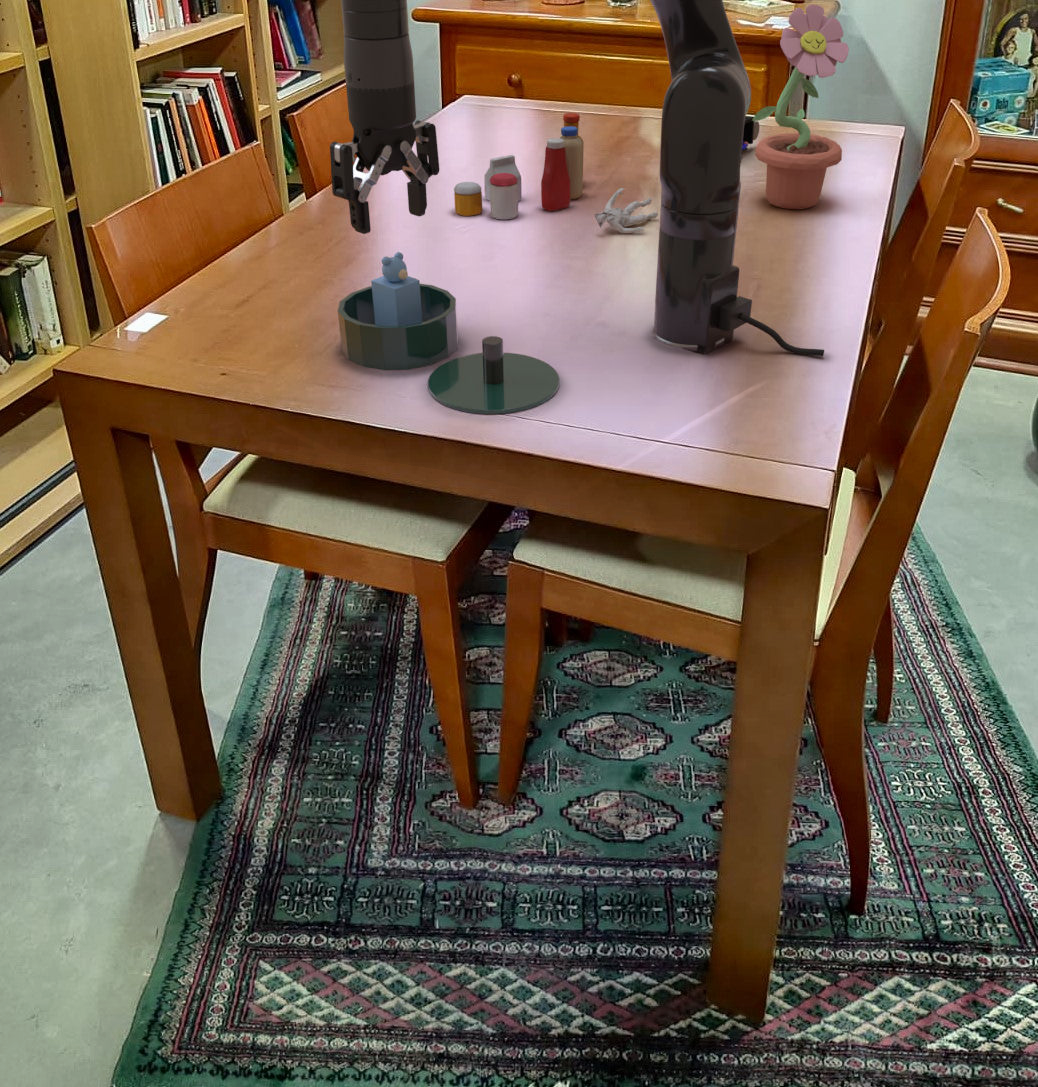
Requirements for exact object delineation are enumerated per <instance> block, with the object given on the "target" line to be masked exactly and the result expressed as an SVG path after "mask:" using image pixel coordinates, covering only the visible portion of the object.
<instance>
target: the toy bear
mask: <svg viewBox="0 0 1038 1087" xmlns="http://www.w3.org/2000/svg"><path fill="white" fill-rule="evenodd" d="M381 264H382V267H381V272H382V273H381V274H382V276H379V277H377V278H374V279H371V280H370V283H371V286H372V294H373V305H374V316H375V325H380V326H401V325H409V324H415V323H420V322H422V310H421V295H420V284H421V281H420V279H418V278H414V277H412V276H410V275H409V273H408V267H407V265H406V262H405V261H404V254H403V253H402V252H400V251H398V252H395V253H394V256H391V257H389V256H383V257H382V259H381Z"/></svg>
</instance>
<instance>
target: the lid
mask: <svg viewBox="0 0 1038 1087" xmlns="http://www.w3.org/2000/svg"><path fill="white" fill-rule="evenodd" d="M481 350H482V352H480V353H478V352H477V353H473V354H472V353H471V354H467V355H463V356H459V357H456V358H453V359H451V360H448V361H446V362H444V363H443V364H441V365H439V366H437V367H436V368H435V369H434V370H433V371H432V373H430V375H429V376H428V381H427V387H428V392H429V394H430V395H431V396H432V398H433V399H434V400H435V401H437V402H438V403H440V404H441V405H444V406H445V407H448V408H450V409H453V410H457V411H460V412H465V413H471V414H480V415H502V414H512V413H517V412H521V411H526V410H529V409H532V408H535V407H538V406H540V405H542V404H544V403H546V402H547V401H549V400H551V398H553V397H554V396H555V394H556V393H557V392H558V390H559V387H560V375H559V374H558V372H557V370H556V369H555V367H553V366H552V365H550V364H549V363H548V362H546V361H544V360H541V359H539V358H536V357H533V356H530V355H526V354H522V353H521V354H520V353H516V352H515V353H514V352H504V339H503V338H502V337H500V336H497V335H490V336H486V337H484V338H482V340H481Z"/></svg>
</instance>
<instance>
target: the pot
mask: <svg viewBox="0 0 1038 1087" xmlns="http://www.w3.org/2000/svg"><path fill="white" fill-rule="evenodd" d="M420 295H421V310H422V322H420V323H415V324H409V325H401V326H380V325H375V316H374V305H373V294H372V285H370V286H367V287H364V288H361V289H359V290H355V291H353V292H350V293H349V294H348V295H346V296H345V297H344V298H342V299H341V300H339V303H338V307H337V317H338V327H339V335H340V344H341V352H342V353H343V355H344V356H345V357H346V359H347V360H348V361H350V362H352V363H354V364H357V365H359V366H361V367H364V368H369V369H375V370H379V371H380V370H381V371H407V370H408V371H410V370H415V369H420V368H424V367H429V366H432V365H435V364H438V363H439V362H441V361H442V362H443V361H444V360H447V359H448V358H449V357H451V356H452V355H453V353H455V352H456V351H457V349H458V343H459V334H458V333H459V332H458V316H457V314H458V313H457V298H456V297H455V296H454V295H453V294H452V293H451V292H450V291H448V290H446V289H444V288H441V287H438V286H435V285H432V284H426V283H420Z"/></svg>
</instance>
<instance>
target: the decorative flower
mask: <svg viewBox="0 0 1038 1087" xmlns="http://www.w3.org/2000/svg"><path fill="white" fill-rule="evenodd" d="M824 14H825V9H824V7H823V6H821V5H818V4H814V3H813V4H809V5H807V6H806V7H805V12H804V9H803V8H801V7H797V8H795V9H794V10H793V11H792V12H791V14H790V15H789V17H788V24H789V25H790V26H791V28H789V27H784V28H783V30H782V33H781V39H780V40H779V45H780V48H781V50H782V52H783V54H784V56H785V57H786V60H787V61H788V62H789V63H790V65H791V66H793V67H794V69H793V71H792V73H791V75H790V77H789V79H788V81H787V83H786V84H785V86H784V88H783V90H782V92H781V94H780V96H779V97H778V98H779V99H778V100H777V103H776V106H775V105H774V106H771V105H770V106H765V107H763V108H761V109H759V111H757V112H756V113H755V115H754V116H753V117H754V118H753V119H752V121H758V122H759V121H762V120H764V119H767V118H769V117H770V116H771V115H772V114H773V113H774V121H775V122H776V124H777V125H778V126H779V127H783V128H790V129H791V128H792V129H794V130H795V131H797V133H796V132H795V133H794V132H785V133H777V134H773V135H768V136H766V137H763V138H762V139H761V140H759V141H758V143H757V144H756V147H755V152H754V156H755V158H756V159H757V160H758V161H760V162H761V163H764V164H766V181H765V196H766V197H765V198H766V200H767V202H768V203H769V204H770V205H771V206H775V207H777V208H781V209H785V210H786V209H787V210H804V209H810V208H811V207H813V206H815V205H817V204H818V202H819V200H820V198H821V194H822V190H823V186H824V182H825V177H826V174H827V173H826V172H827V169H828V168H830V167H834V166H836V165H838V164H839V163H840V162H841V161H842V159H843V158H842V157H843V149H842V147H841V146H840V144H838V143H837V142H836V141H835V140H832V139H830V138H828V137H826V136H823V135H817V134H813V133H812V134H811V129H810V126H809V125H808V124H807V123H806V122H805V121H804V120H803V119H804V118H805V110H804V108H800V109H799V110H798V112H797V114H796V116H794V115H787V110H788V107H789V105H790V102H791V100H792V98H793V96H794V94H795V92H796V90H797V88H798V87H799V85H800V83H801V87H802V89H803V91H804V92H805V93H806V94H807V95H809V96H810V97H811V98H815V99H819V92H818V90H817V88H816V87H815V85H814V83H813V82H811V80H809V79H808V78H805V77H804V75H806V76H808V77H815V76H818V78H821V79H825V78H828V77H831V76H832V77H833V76H834V75H835V73H836V71H837V68H836V66H837V63H841V64H844V63H845V62H846V60H847V58H848V55H849V51H850V48H849V45H848V43H847V42H842V38H843V37H844V30H843V26H842V25H841V22H840V21H839V20H838V19H837V18H835V17H830V18H828V17H827V16H825V15H824ZM792 28H793V29H792Z"/></svg>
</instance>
